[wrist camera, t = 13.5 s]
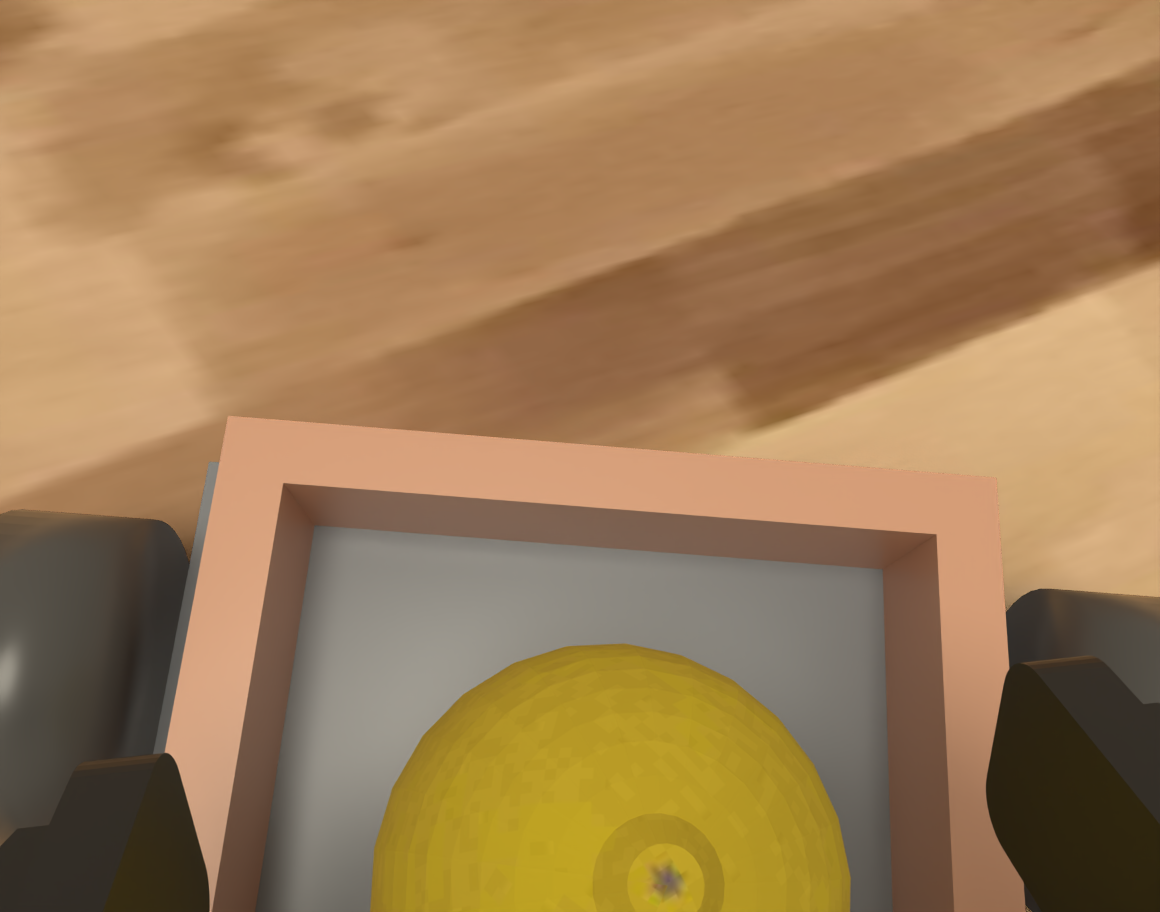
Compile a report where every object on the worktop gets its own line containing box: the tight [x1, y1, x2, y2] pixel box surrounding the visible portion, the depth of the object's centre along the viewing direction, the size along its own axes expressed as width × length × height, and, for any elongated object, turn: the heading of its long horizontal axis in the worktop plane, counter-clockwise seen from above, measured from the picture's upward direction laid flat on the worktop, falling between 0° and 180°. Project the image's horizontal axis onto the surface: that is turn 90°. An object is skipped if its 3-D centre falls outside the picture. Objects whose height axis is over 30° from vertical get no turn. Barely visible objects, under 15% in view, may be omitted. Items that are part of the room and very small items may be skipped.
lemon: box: [370, 643, 851, 912], centre depth 13 cm, size 6×6×8 cm
